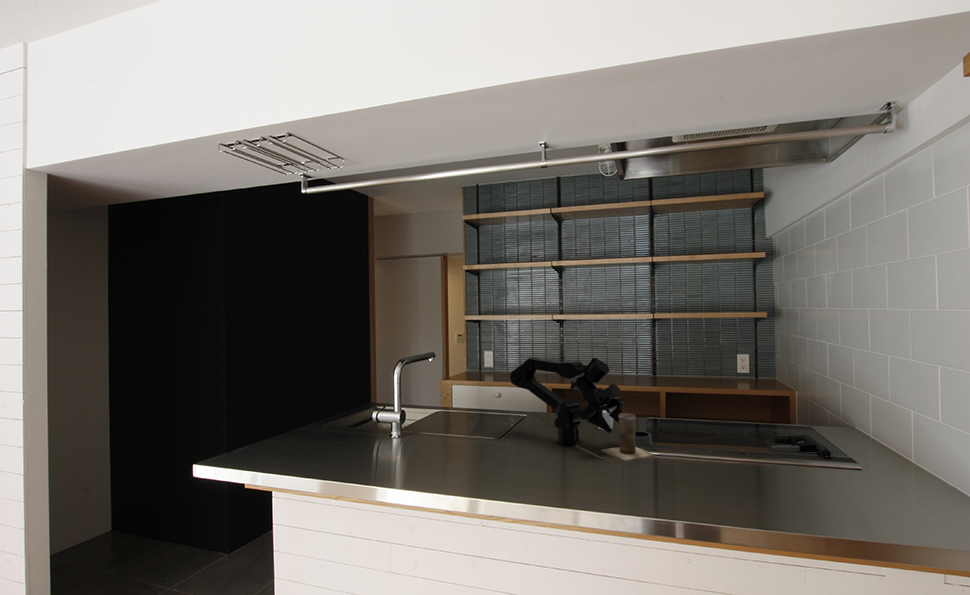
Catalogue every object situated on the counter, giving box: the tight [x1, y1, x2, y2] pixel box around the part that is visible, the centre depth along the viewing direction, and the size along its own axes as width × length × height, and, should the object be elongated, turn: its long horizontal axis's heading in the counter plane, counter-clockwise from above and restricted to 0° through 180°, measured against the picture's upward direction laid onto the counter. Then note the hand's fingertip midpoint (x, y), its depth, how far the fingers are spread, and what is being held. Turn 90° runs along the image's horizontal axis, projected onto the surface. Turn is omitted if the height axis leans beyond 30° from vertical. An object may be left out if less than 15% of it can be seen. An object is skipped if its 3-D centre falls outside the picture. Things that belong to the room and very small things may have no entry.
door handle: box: [771, 433, 832, 458], centre depth 173 cm, size 3×20×16 cm
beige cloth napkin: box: [600, 446, 656, 462], centre depth 168 cm, size 12×12×2 cm
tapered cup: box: [618, 412, 636, 454], centre depth 168 cm, size 5×5×12 cm
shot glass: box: [597, 410, 614, 431], centre depth 206 cm, size 7×7×7 cm
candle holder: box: [635, 430, 654, 448], centre depth 181 cm, size 10×10×4 cm
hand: (618, 429), depth 171 cm, fingers open, 9 cm apart
